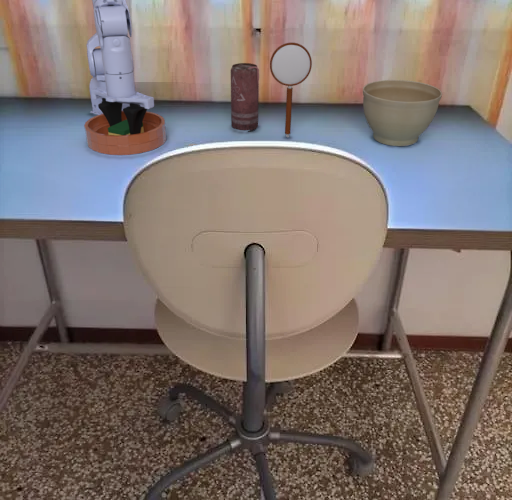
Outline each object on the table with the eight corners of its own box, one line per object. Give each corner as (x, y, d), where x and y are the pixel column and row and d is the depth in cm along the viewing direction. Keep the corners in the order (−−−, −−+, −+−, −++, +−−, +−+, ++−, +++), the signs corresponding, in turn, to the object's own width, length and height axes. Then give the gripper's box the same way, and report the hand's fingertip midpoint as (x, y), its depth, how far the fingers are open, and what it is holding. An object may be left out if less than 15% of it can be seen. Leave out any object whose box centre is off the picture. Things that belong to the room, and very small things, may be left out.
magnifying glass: (306, 136, 120) (312, 41, 109) (307, 139, 119) (313, 43, 108) (267, 136, 120) (270, 41, 109) (268, 139, 118) (270, 43, 108)
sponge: (125, 146, 112) (123, 131, 110) (109, 143, 114) (107, 127, 112) (144, 137, 117) (142, 122, 115) (128, 133, 118) (127, 118, 117)
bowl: (71, 145, 114) (67, 124, 112) (130, 124, 125) (128, 105, 123) (124, 164, 106) (121, 142, 103) (182, 140, 117) (180, 120, 115)
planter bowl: (369, 122, 128) (374, 76, 122) (438, 133, 122) (448, 85, 117) (348, 144, 116) (353, 94, 110) (424, 158, 110) (434, 105, 104)
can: (256, 133, 121) (256, 69, 114) (228, 131, 122) (227, 68, 115) (261, 124, 126) (262, 63, 119) (234, 122, 127) (234, 61, 120)
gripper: (76, 71, 107) (87, 136, 115) (135, 80, 102) (142, 148, 109) (100, 63, 113) (109, 126, 120) (157, 72, 107) (163, 137, 114)
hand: (126, 136), depth 115 cm, fingers closed on sponge, 4 cm apart
